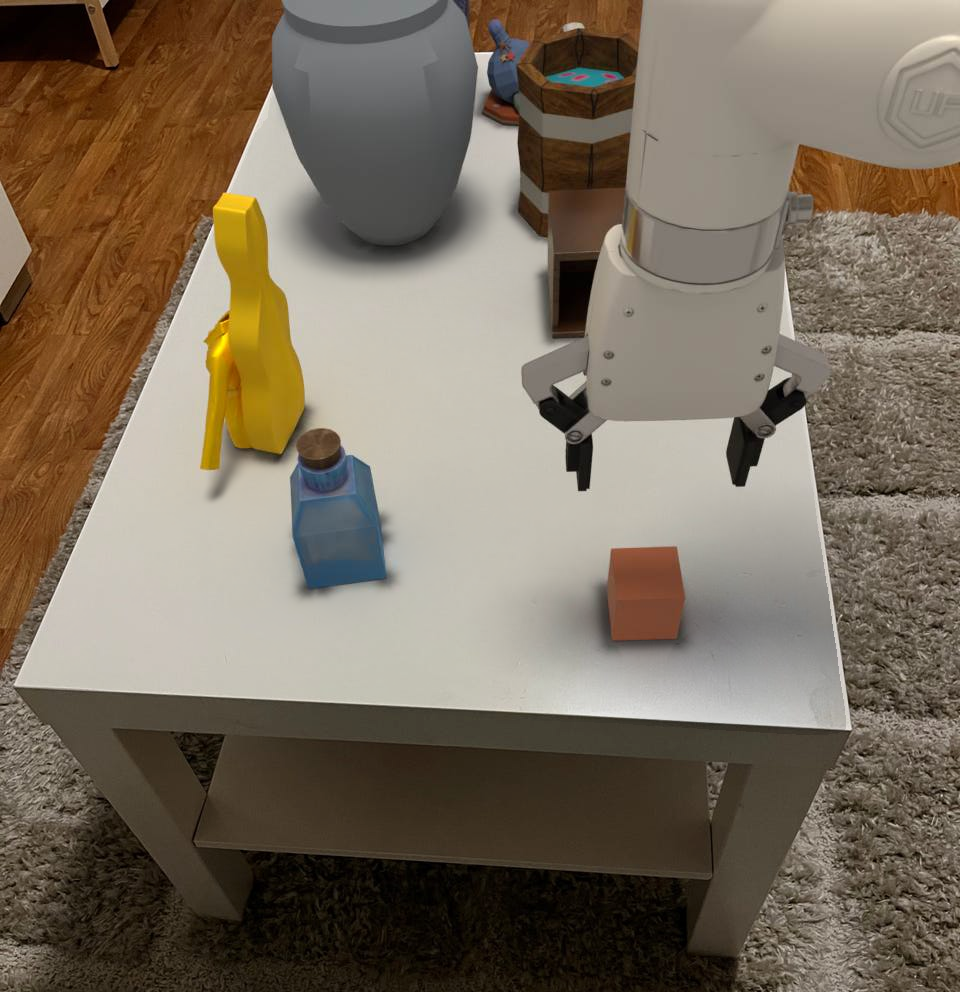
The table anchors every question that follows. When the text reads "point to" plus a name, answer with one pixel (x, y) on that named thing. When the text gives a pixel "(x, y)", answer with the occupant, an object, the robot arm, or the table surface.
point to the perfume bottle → (334, 513)
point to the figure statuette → (250, 342)
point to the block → (645, 593)
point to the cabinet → (577, 251)
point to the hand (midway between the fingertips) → (658, 473)
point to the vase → (377, 107)
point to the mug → (574, 115)
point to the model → (503, 76)
